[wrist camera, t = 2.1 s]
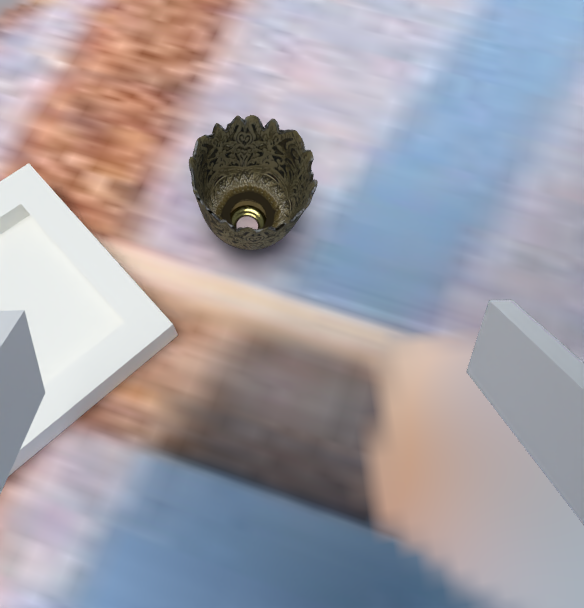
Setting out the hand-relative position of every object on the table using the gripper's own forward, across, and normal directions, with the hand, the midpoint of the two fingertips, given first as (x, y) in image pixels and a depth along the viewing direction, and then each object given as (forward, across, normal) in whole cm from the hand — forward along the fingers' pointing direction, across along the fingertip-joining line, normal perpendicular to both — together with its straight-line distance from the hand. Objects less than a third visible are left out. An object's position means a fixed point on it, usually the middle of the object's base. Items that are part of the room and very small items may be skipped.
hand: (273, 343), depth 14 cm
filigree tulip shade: (+22, +1, -5) cm, 22 cm away
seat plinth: (+17, -14, -10) cm, 24 cm away
